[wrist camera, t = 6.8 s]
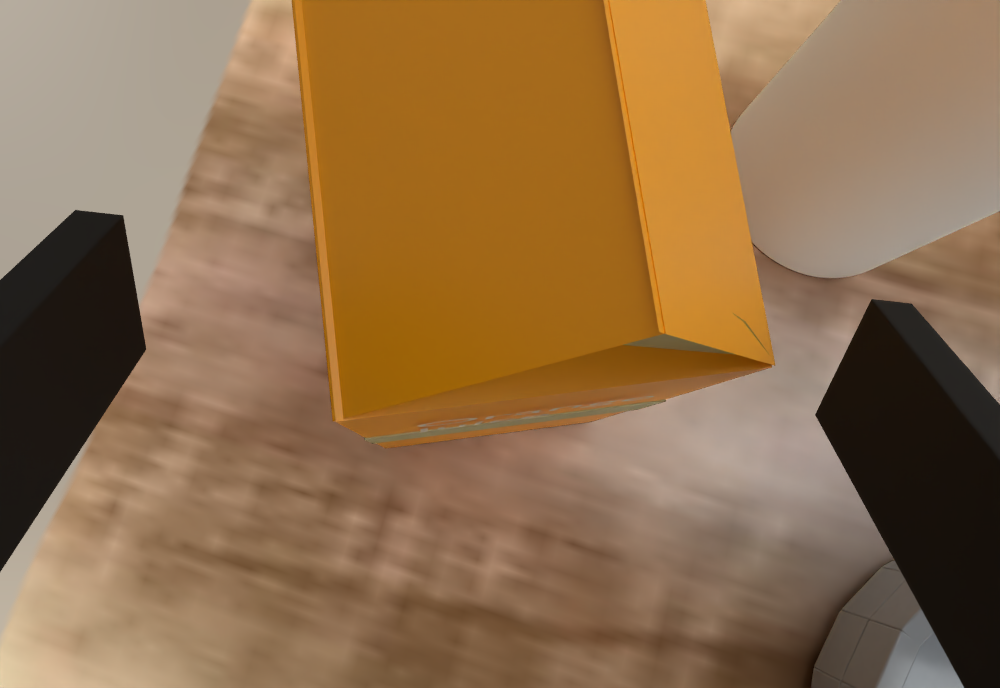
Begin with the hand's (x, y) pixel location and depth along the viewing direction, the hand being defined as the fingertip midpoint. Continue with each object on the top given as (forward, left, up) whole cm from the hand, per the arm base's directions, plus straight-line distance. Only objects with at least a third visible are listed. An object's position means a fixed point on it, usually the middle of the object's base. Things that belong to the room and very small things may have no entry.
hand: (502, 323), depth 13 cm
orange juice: (-2, -3, -14) cm, 14 cm away
